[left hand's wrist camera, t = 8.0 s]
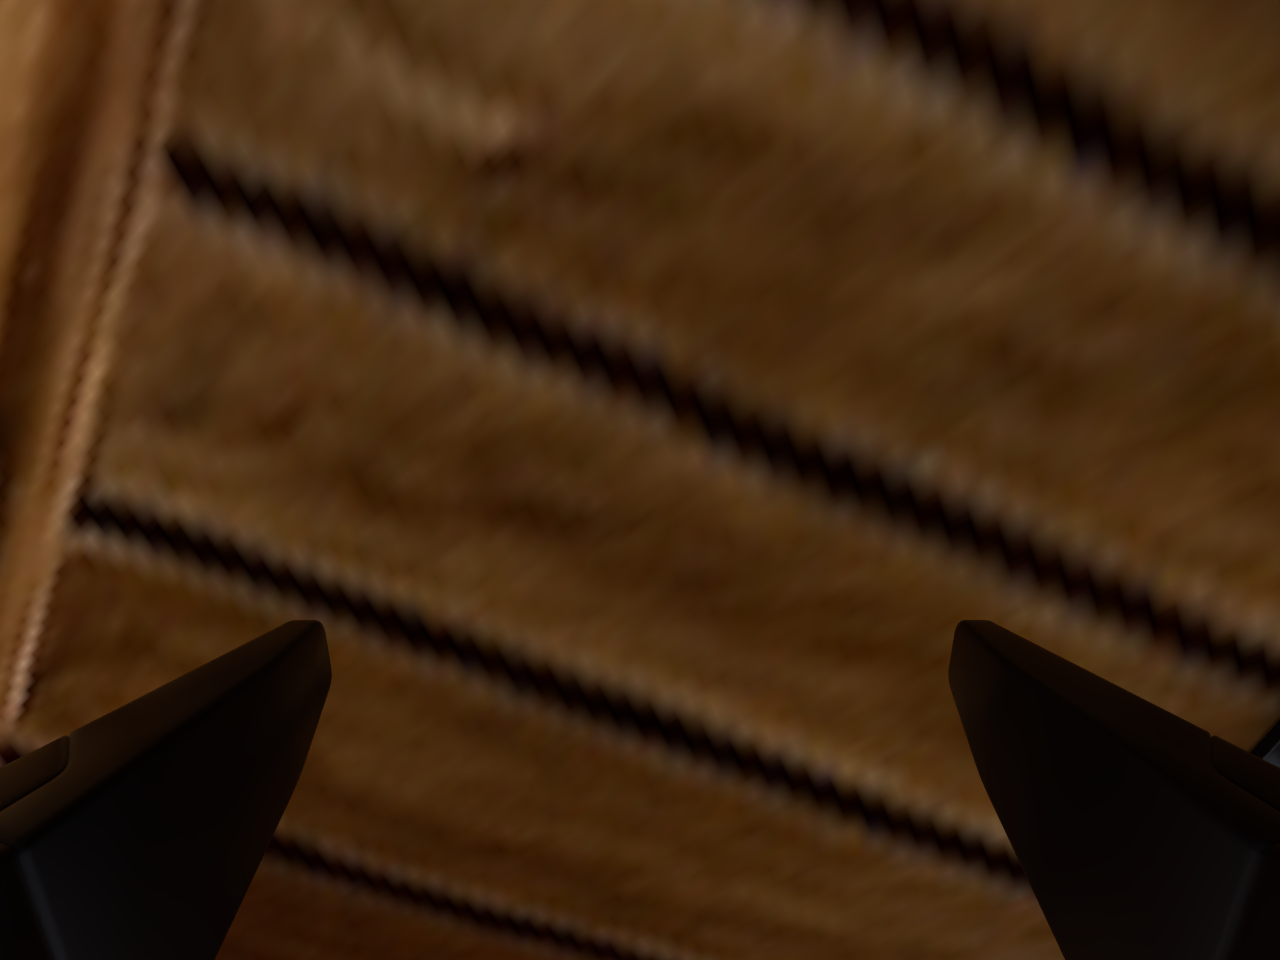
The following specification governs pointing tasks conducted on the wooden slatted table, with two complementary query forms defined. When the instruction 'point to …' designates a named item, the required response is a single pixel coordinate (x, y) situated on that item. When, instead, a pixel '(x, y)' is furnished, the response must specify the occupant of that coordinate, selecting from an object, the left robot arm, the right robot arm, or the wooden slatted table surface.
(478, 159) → the wooden slatted table surface
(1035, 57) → the wooden slatted table surface
